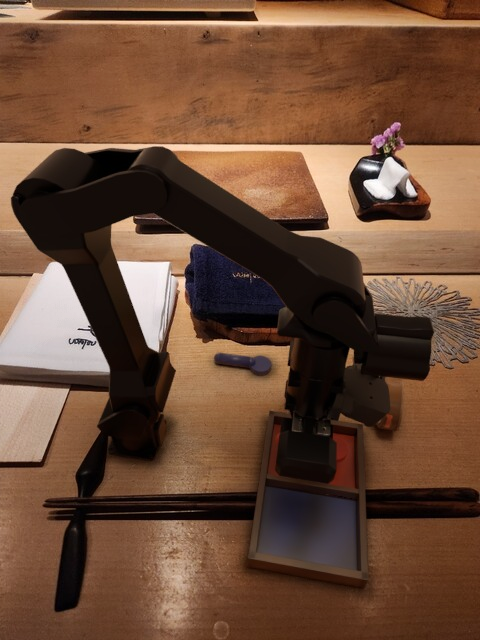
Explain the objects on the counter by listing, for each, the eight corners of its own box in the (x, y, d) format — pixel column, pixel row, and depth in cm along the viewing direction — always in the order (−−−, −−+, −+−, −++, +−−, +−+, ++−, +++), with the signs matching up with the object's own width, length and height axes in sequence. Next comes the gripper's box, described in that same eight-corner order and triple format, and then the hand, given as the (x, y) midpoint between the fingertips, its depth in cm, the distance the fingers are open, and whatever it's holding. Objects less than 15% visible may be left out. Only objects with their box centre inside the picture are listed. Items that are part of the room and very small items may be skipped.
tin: (394, 443, 64) (410, 407, 58) (371, 439, 65) (385, 402, 59) (390, 364, 75) (403, 327, 69) (370, 361, 75) (382, 324, 70)
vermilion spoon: (273, 453, 59) (275, 446, 58) (276, 431, 62) (277, 423, 60) (346, 465, 58) (349, 457, 57) (346, 442, 61) (349, 434, 60)
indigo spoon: (212, 368, 74) (211, 361, 72) (216, 353, 76) (216, 346, 75) (269, 377, 73) (270, 369, 71) (272, 361, 75) (272, 353, 74)
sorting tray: (247, 567, 52) (247, 558, 50) (268, 421, 66) (269, 410, 65) (363, 588, 50) (368, 580, 49) (359, 434, 65) (362, 424, 63)
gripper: (404, 448, 41) (367, 524, 52) (388, 312, 55) (362, 394, 65) (280, 429, 42) (269, 507, 53) (295, 301, 56) (284, 383, 67)
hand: (301, 442), depth 59 cm, fingers closed on vermilion spoon, 2 cm apart
